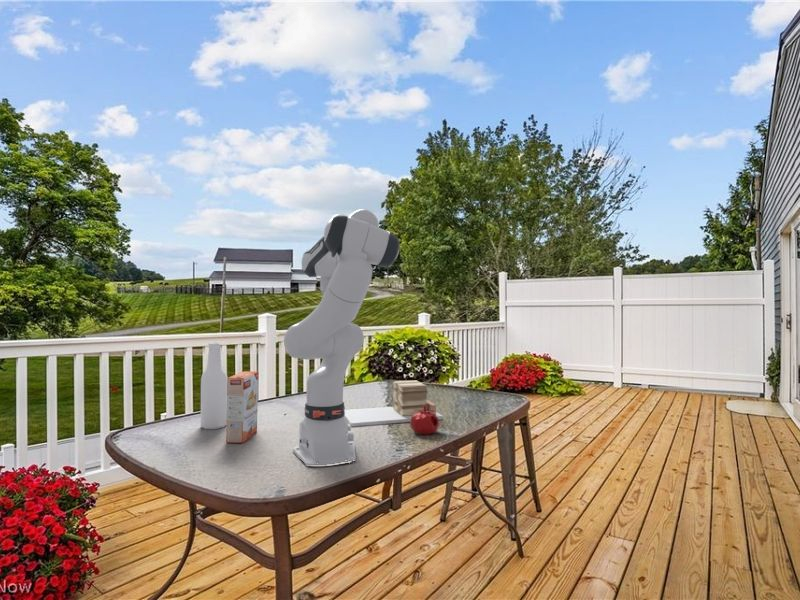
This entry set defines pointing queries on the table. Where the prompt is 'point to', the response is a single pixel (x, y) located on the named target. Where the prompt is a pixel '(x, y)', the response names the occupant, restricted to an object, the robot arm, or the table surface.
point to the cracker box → (241, 406)
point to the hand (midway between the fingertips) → (331, 322)
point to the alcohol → (214, 391)
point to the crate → (409, 397)
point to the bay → (381, 415)
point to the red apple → (424, 422)
